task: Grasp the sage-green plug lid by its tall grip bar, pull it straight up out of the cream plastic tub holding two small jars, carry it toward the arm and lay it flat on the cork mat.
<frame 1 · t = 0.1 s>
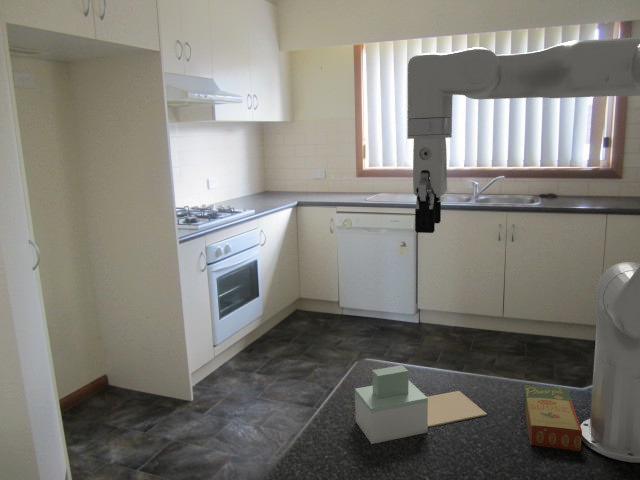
hand: (428, 227, 94), 37 cm above the countertop, tool pointing down, fingers open, 9 cm apart
lid: (390, 397, 98), point 6 cm above the countertop, touching tub
tub: (390, 426, 99), on the countertop
carton: (549, 426, 98), on the countertop
mat: (443, 408, 105), on the countertop
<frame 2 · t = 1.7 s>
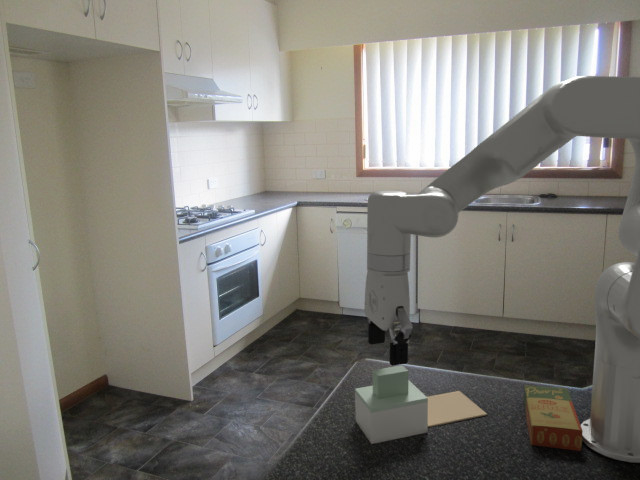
hand: (387, 353, 96), 15 cm above the countertop, tool pointing down, fingers open, 9 cm apart
nothing on the countertop moved.
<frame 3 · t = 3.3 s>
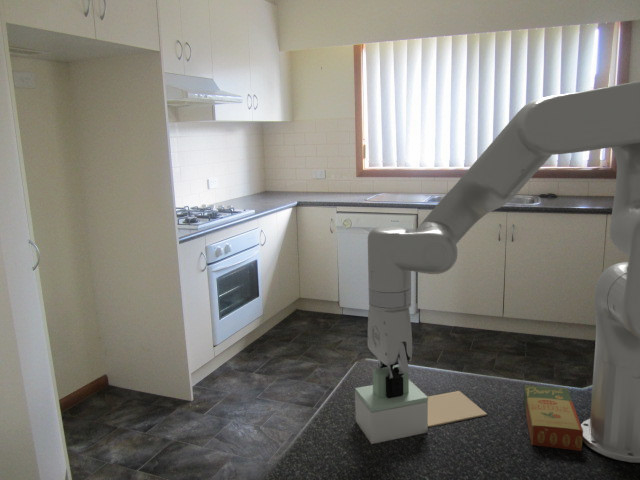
hand: (390, 391, 98), 7 cm above the countertop, tool pointing down, fingers closed on lid, 2 cm apart
lid: (390, 396, 98), point 6 cm above the countertop, touching gripper
everything else where it was.
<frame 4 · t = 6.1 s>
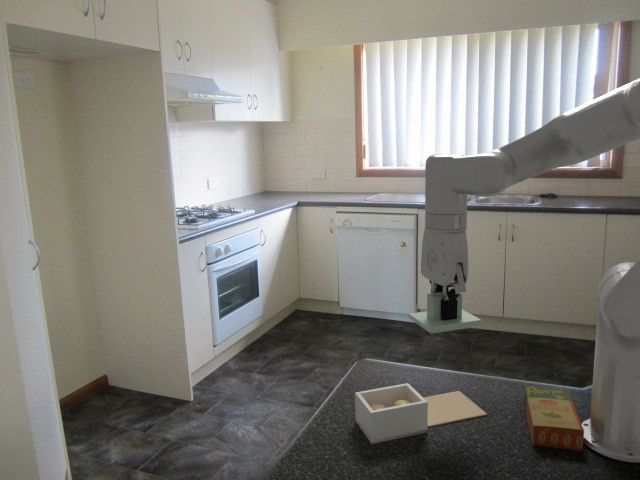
hand: (444, 315, 101), 19 cm above the countertop, tool pointing down, fingers closed on lid, 2 cm apart
lid: (444, 320, 101), point 18 cm above the countertop, touching gripper
everything else where it was.
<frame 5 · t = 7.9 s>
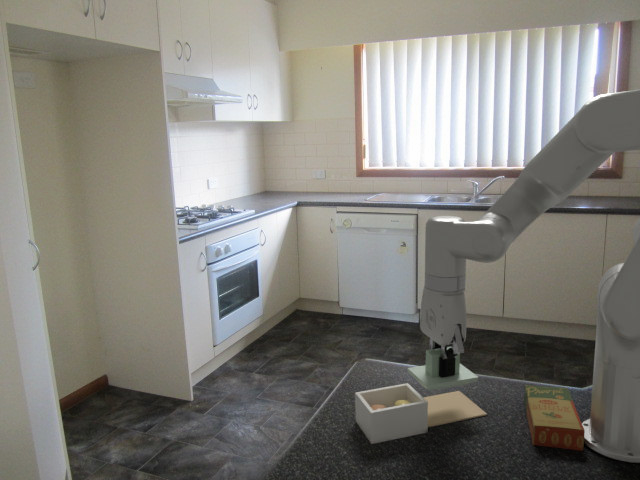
hand: (442, 371, 103), 8 cm above the countertop, tool pointing down, fingers closed on lid, 2 cm apart
lid: (442, 376, 104), point 7 cm above the countertop, touching gripper
everything else where it was.
when the fingers open (4 cm above the countertop, at t = 9.4 s): lid drops 1 cm, resting on mat.
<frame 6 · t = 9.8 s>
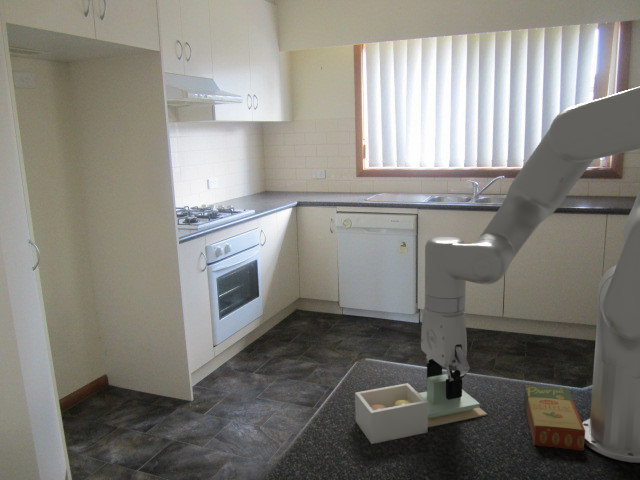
hand: (443, 388, 104), 4 cm above the countertop, tool pointing down, fingers open, 6 cm apart
lid: (443, 402, 104), point 1 cm above the countertop, touching mat
everything else where it was.
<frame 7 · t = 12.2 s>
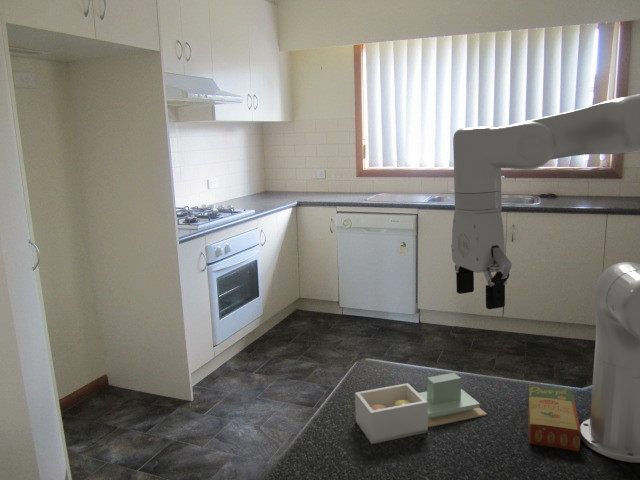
hand: (479, 299, 92), 25 cm above the countertop, tool pointing down, fingers open, 9 cm apart
nothing on the countertop moved.
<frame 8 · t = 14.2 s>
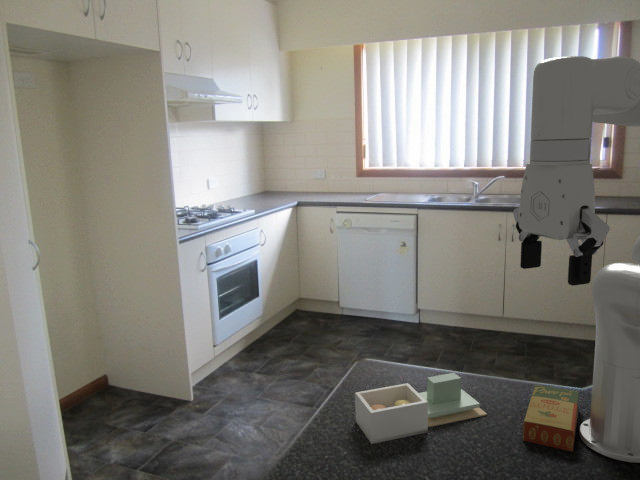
hand: (553, 275, 75), 33 cm above the countertop, tool pointing down, fingers open, 9 cm apart
at the end: lid inside the target area (0.0 cm from its centre), point 1.3 cm above the countertop; lid tilted 0°; lid touching mat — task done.
